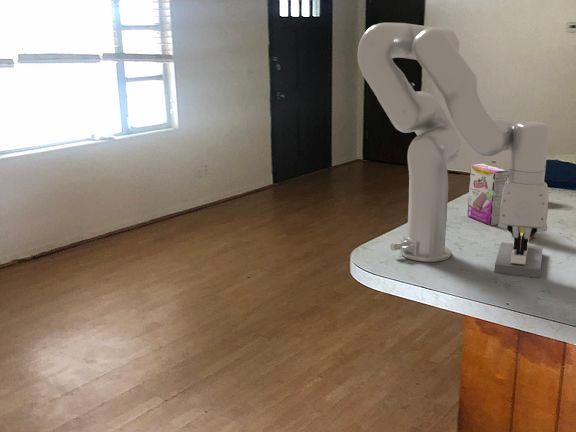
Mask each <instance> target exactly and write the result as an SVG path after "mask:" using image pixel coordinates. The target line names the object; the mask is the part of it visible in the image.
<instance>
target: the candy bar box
mask: <svg viewBox="0 0 576 432" xmlns="http://www.w3.org/2000/svg"><path fill="white" fill-rule="evenodd" d="M503 170H505V171H507V170H506V169H503V168H499V167H496V166H492V165H488V164H486V163H477V164H471V165H470V171H469V189H468V200H467V201H468V204H467V206H468V207H467V215H466V216H467V218H468V217H469V218H471V219H474V220H476V221H479V222H480V223H483V224H485V225H487V226H490V227H492V226H498V223H499V220H500V207H501V200H502V193H503V189H504V185H505V182H506V181H507V180H508V177H506V176H503Z"/></svg>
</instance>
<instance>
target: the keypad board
mask: <svg viewBox="0 0 576 432" xmlns="http://www.w3.org/2000/svg"><path fill="white" fill-rule="evenodd" d="M513 244H514V242H513V243H510V242H502V241H501V242H500V247H499V249H498V253H497V256H496V259H495V262H494V269H493V270H494V273H497V274H499V273H500V274H505V275H506V274H507V275H514V276H522V277H530V278H540V277H541V269H542V259H543V248H544V247H543V246H542V245H541V246H537V245H532V244H531V245H530V244H528V251H527V255H526V262H525V264H523V266H522V265H514V264H513V263H511V254H512V250H513Z"/></svg>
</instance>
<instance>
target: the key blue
mask: <svg viewBox="0 0 576 432" xmlns="http://www.w3.org/2000/svg"><path fill="white" fill-rule="evenodd" d="M526 254H527V252H524V253H523V255H521V254H520V253H519V254H516V251H513V250H512V254H511V263H513V264H514V265H522V266H523V264H525V262H526Z"/></svg>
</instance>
